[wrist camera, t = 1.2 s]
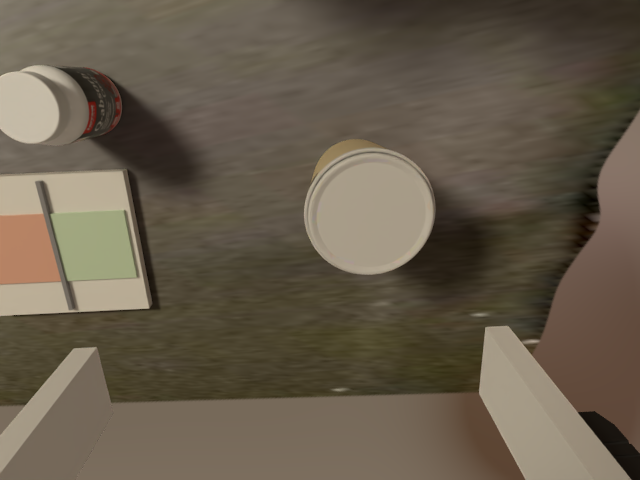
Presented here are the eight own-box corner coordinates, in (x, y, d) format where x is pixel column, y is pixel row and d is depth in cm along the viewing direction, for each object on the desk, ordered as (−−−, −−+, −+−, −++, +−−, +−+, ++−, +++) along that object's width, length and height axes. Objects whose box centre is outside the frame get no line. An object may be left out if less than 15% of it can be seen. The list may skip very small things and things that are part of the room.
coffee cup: (287, 158, 41) (279, 189, 30) (378, 110, 40) (407, 124, 29) (331, 242, 44) (340, 299, 33) (418, 200, 43) (458, 244, 32)
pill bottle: (133, 128, 40) (81, 143, 31) (72, 141, 40) (2, 160, 31) (110, 60, 38) (46, 55, 29) (46, 74, 38) (-37, 74, 29)
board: (-38, 176, 41) (-50, 179, 40) (126, 169, 41) (120, 172, 40) (5, 310, 46) (-4, 318, 44) (152, 303, 46) (147, 310, 45)
